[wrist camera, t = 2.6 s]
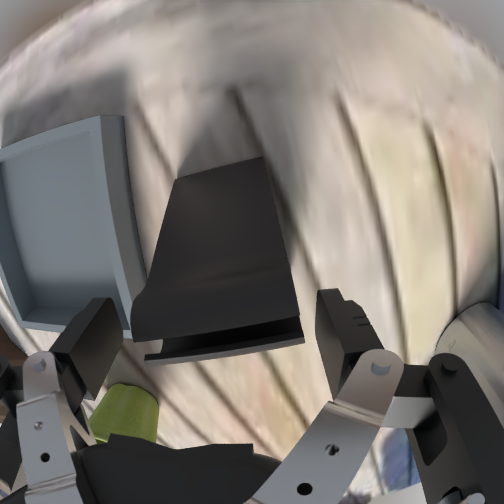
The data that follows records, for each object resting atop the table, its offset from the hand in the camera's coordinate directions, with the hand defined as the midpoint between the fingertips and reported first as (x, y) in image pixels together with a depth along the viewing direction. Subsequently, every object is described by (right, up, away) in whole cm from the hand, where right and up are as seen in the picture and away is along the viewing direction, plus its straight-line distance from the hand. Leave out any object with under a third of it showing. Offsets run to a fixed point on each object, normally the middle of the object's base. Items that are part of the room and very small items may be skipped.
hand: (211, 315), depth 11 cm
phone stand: (0, +4, +10) cm, 11 cm away
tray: (-14, +4, +10) cm, 17 cm away
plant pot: (-12, -14, +18) cm, 25 cm away
